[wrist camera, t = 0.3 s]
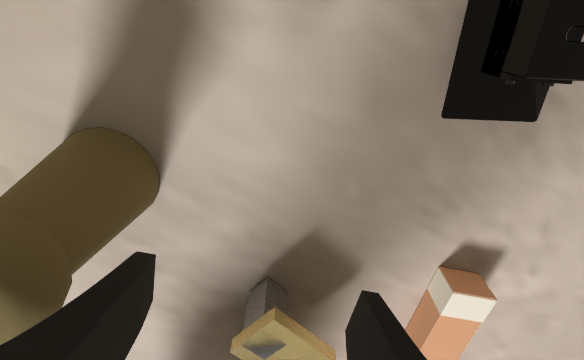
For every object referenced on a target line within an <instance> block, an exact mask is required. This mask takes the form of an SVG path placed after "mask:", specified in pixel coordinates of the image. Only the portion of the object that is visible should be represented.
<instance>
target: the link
mask: <svg viewBox="0 0 584 360" xmlns="http://www.w3.org/2000/svg"><path fill="white" fill-rule="evenodd" d="M496 301H497V299H496V297H495V296H494V295H493V293H492V292H491V290H490V289H489V288H488V286H487V285H486V283H485V282H484V281H483V279H482V278H481V277H480V275H479V274H476V273H471V272H466V271H461V270H455V269H450V268H445V267H440V266H439V267H438V269H437V271H436V273H435V275H434V277H433V279H432V280H431V282H430V284H429V286H428V288H427V290H426V292H425V294H424V296H423V298H422V300H421V302H420V304H419V305H418V307H417V309H416V311H415V313H414V315H413V317H412V319H411V321H410V322H409V324H408V326H407V328H406V330H405V331H406V332H407V334H408V335H409V336H410V338H411V339H412V340H413V342H414V343H415V344H416V346H417V347H418V348H419V350H420V351H421V352H422V354H423V355H424V356H425V357H426V359H427V360H457V359H458V358H459V356H460V355H461V353H462V352H463V350H464V349H465V347H466V346H467V344H468V342H469V341H470V339H471V338H472V336H473V335H474V333H475V332H476V330H477V329H478V327H479V326H480V324H481V323H483V321H484V320H485V318H486V317H487V315H488V314H489V312H490V311H491V309H492V308H493V306H494V305H495V303H496Z"/></svg>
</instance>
